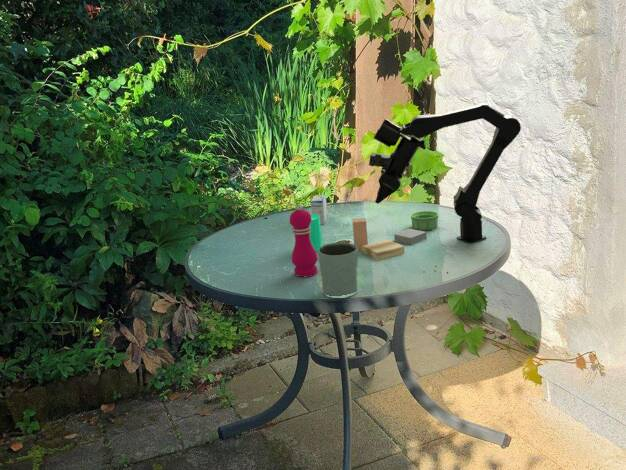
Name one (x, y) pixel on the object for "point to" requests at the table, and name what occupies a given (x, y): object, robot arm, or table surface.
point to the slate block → (410, 236)
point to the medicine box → (319, 207)
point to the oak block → (383, 249)
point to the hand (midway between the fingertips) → (377, 199)
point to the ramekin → (424, 220)
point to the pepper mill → (303, 243)
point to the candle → (315, 232)
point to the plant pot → (338, 268)
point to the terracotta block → (360, 232)
